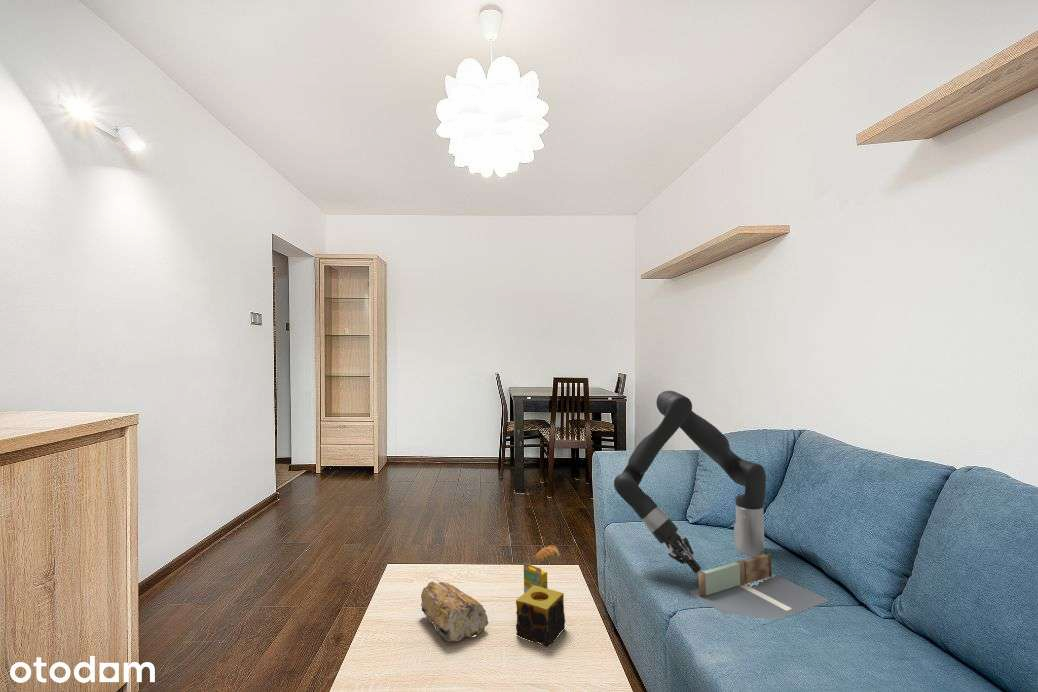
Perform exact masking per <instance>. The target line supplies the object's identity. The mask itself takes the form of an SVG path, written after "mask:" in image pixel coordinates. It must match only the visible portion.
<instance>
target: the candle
mask: <svg viewBox="0 0 1038 692" xmlns="http://www.w3.org/2000/svg"><path fill="white" fill-rule="evenodd" d="M564 597H565V596H564V592H561V591H558V590H555V589H549V588H548V589H546V588H543V587H539V586H535V585H533V586H532V587H531V588H530V589H529V590H528V591H526V592H525V593H524V592H523V594H521V595H520V596H518V598H517V599H516V600H515V605H516V612H515V613H516V624H515V630H516V636H517V635H518V636H520V637H522V638H525V639H527V640H526V641H528V640H530V641H533V642H532V643H534V642H535V643H534V644H537V643H536V642H539V643H541V644H542V645H541V644H540V645H541V646H543V645H544V647H545V646H546V648H549V647H550V646H551V645H552V644H553V643H554V642H555V641H556V640H557V639H556V638H558V637H559V636H560V635H559V633H560V632H561V631H562V630H563V629H564V628H566V626H565V625H566V618H565V617H566V616H565V614H566V613H565V605H564V603H565V601H564ZM564 630H565V629H564ZM564 630H563V631H564ZM563 631H562V632H563ZM562 632H561V633H562ZM561 633H560V634H561ZM558 635H559V636H558ZM557 636H558V637H557ZM520 637H519V638H520ZM522 638H521V639H522ZM525 639H524V640H525ZM555 639H556V640H555ZM554 640H555V641H554ZM530 641H529V642H530ZM539 643H538V644H539ZM550 644H551V645H550ZM549 645H550V646H549Z"/></svg>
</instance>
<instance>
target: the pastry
mask: <svg viewBox="0 0 1038 692" xmlns="http://www.w3.org/2000/svg"><path fill="white" fill-rule="evenodd" d="M560 556H561V554H560V551H559V550H558V548H557V546H555V545H549V546H546V547H543V548H540V550H539V551H537V553H535V555H534V561H536V562H538V563H547V562H552V561H554V560H558V559H559V558H560Z"/></svg>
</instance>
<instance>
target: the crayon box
mask: <svg viewBox="0 0 1038 692" xmlns="http://www.w3.org/2000/svg"><path fill="white" fill-rule="evenodd" d="M533 585H535V586H539V587H543V588H546V589H549V588H548V572H547V571H545V570H542V568H539V567H537V566H534V565H531V564H529V563H527V562H523V594H524V593H525V592H526V591H528V590H529V589H530V588H531V587H532V586H533Z"/></svg>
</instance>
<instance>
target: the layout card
mask: <svg viewBox="0 0 1038 692" xmlns="http://www.w3.org/2000/svg"><path fill="white" fill-rule="evenodd" d="M774 575H775V574H774ZM774 575H772V577H767V578H764V579H761V580H763V582H759V584H758V585H757V586H756V585H753V586H752V587H750V585H749V584H744V585H738V586H735V587H732V588H729V589H725V590H722V591H719V592H716V593H713V594H709V595H706V596H705V597H702V596H700V595H699V588H696V589H693V590H690V591H688V593H689V594H690V595H692V596H693V597H695V598H697V599H699V600H700V601H701V602H703V603H705V604H707V605H708V606H710V607H711V608H713V609H714V610H716V611H718V612H720V613H721V614H723V615H725V616H726V614H729V615H732V614H735V615H742V616H743V617H744V616H747V615H751V616H750V617H752V618H761V617H765V618H764V619H774V618H776V617H777V618H776V619H778V618H782V619H784V618H783V617H785V618H787V617H789V616H793V615H796V614H797V613H801V612H803V611H805V610H808V609H811V608H814V607H817V606H820V605H822V604H825V603H829V602H830V601H831V600H830V599H828V598H826V597H824V596H822V595H819V594H817V593H816V592H813V591H810V590H809V589H806V588H804V587H802V586H800V585H798V584H796V583H793V582H791V581H790V580H787V579H785V578H783V577H781V576H778V575H776V576H774ZM765 579H767V580H765ZM761 580H760V581H761ZM756 582H758V581H756ZM752 583H755V582H751V583H750V584H752ZM754 587H755V588H754ZM753 616H754V617H753ZM744 618H745V619H746V618H747V617H744ZM776 619H775V620H776ZM776 621H777V620H776Z"/></svg>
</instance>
